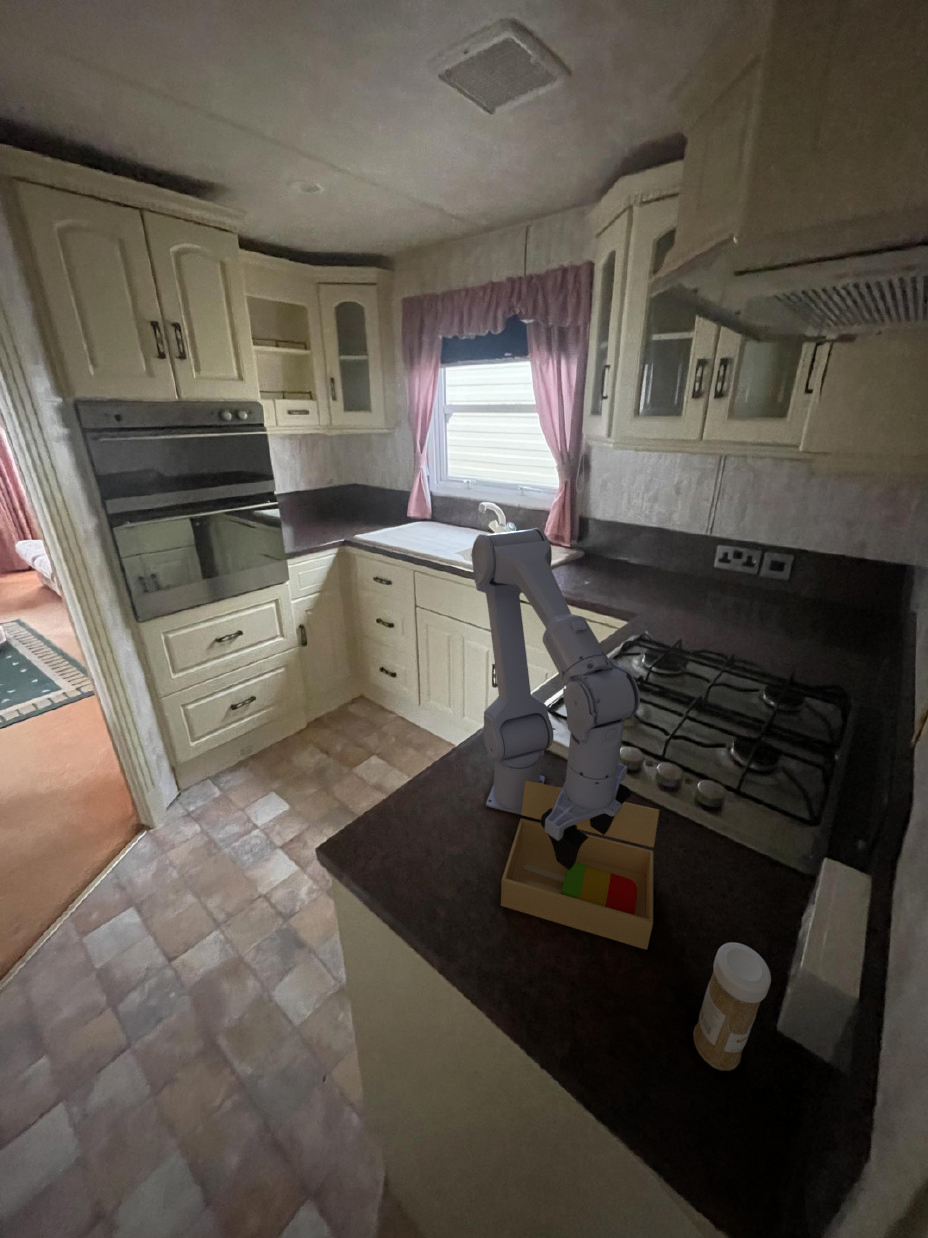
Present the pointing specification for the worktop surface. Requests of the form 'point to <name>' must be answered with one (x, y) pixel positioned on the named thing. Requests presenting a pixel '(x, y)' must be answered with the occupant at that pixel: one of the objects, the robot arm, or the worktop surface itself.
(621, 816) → the flap
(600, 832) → the robot arm
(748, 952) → the sprinkles bottle
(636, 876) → the carton
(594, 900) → the popsicle
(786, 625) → the worktop surface
